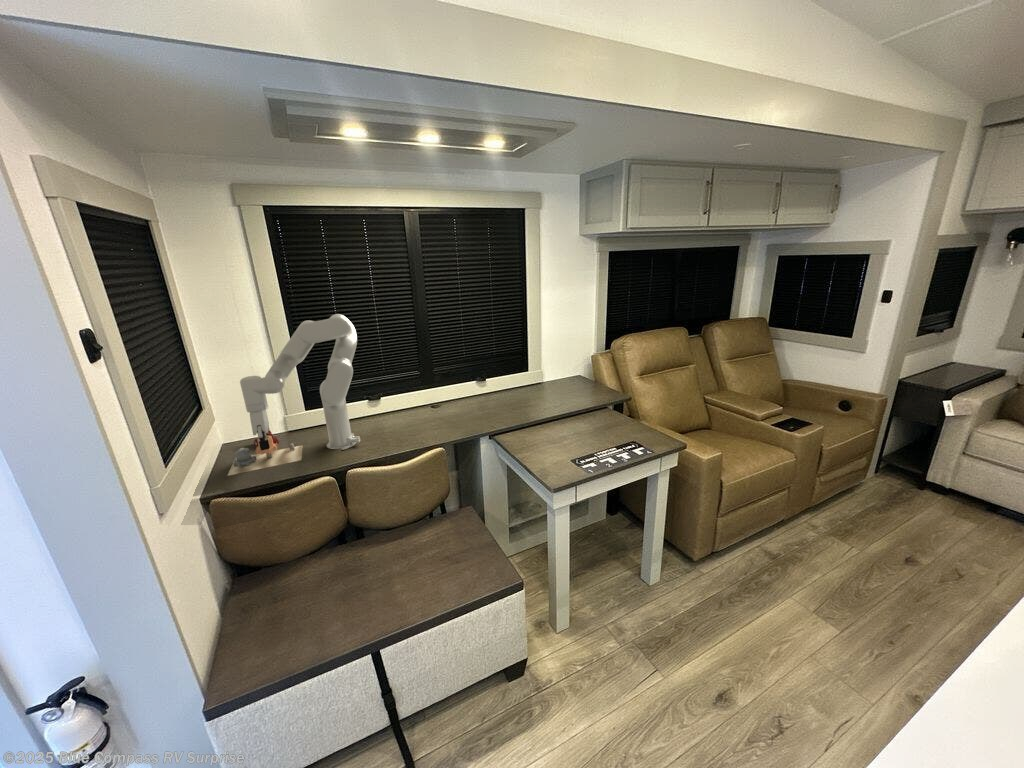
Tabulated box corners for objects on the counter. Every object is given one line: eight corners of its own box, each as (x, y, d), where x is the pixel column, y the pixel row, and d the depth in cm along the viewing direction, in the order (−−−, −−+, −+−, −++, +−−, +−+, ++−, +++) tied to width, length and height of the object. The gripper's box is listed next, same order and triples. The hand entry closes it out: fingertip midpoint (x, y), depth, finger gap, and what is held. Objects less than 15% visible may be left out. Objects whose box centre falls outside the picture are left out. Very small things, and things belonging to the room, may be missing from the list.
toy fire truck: (266, 452, 172) (261, 431, 169) (253, 446, 179) (247, 425, 176) (282, 446, 178) (277, 425, 175) (268, 440, 184) (264, 420, 181)
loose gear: (257, 448, 165) (254, 436, 163) (278, 444, 168) (275, 432, 166) (255, 455, 158) (252, 443, 157) (276, 451, 161) (274, 439, 160)
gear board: (303, 447, 176) (299, 431, 173) (301, 462, 162) (298, 445, 160) (235, 461, 165) (230, 443, 163) (228, 478, 151) (222, 459, 149)
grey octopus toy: (257, 456, 166) (253, 442, 164) (254, 464, 159) (251, 450, 157) (236, 461, 163) (232, 447, 161) (232, 469, 156) (228, 454, 154)
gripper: (249, 401, 163) (258, 440, 168) (242, 414, 148) (252, 456, 154) (269, 398, 166) (278, 437, 172) (265, 411, 152) (274, 452, 157)
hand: (266, 445), depth 163 cm, fingers closed on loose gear, 5 cm apart
